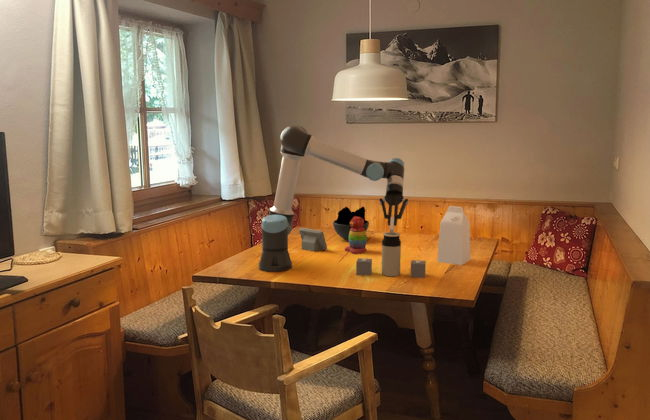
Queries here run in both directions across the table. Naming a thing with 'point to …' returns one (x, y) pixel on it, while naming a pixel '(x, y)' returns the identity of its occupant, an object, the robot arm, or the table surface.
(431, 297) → the table surface
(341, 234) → the bowl of black rocks
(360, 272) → the dotted block left
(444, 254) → the milk
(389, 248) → the travel mug
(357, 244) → the stacking bear
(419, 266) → the dotted block right
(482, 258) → the table surface
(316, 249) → the digital clock
